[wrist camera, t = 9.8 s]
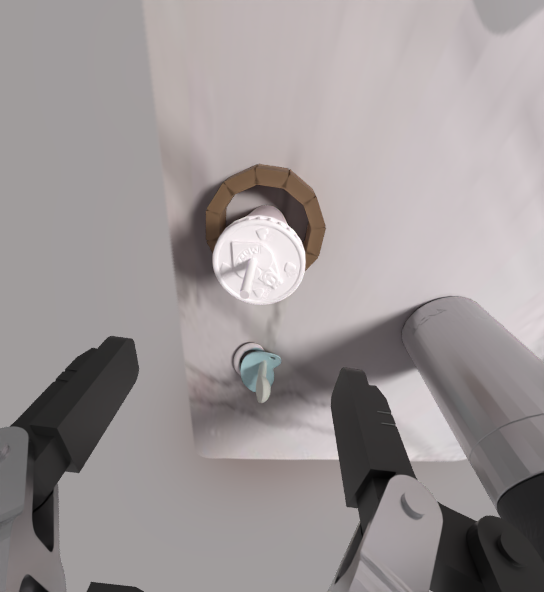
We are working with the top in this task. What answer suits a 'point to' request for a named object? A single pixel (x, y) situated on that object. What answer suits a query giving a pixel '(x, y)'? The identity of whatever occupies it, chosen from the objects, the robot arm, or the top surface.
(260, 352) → the pacifier
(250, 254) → the smoothie
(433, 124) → the top surface
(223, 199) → the brown polygonal ring
